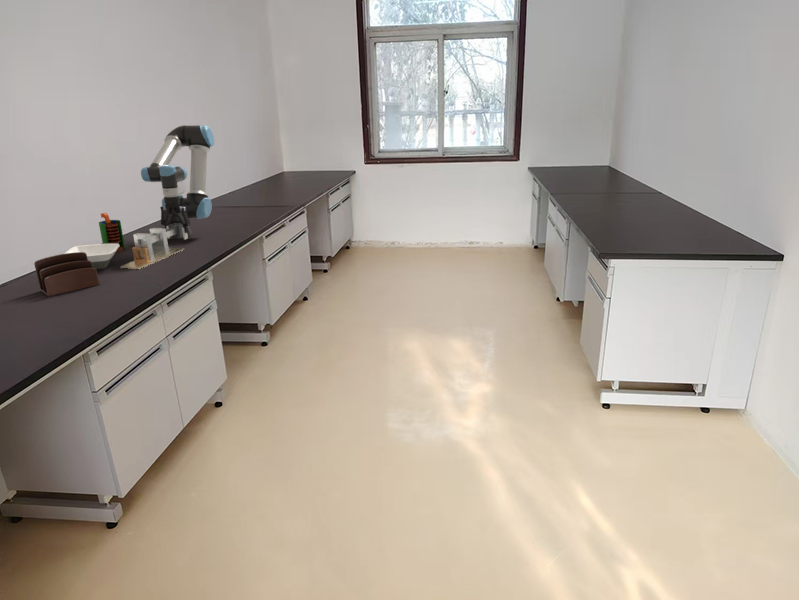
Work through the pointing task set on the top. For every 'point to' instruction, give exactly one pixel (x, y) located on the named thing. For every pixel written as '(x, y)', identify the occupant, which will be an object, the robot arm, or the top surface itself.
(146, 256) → the spacer
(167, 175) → the robot arm
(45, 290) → the letter holder
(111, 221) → the motor
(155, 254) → the frame
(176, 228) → the shaft
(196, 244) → the top surface
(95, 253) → the bowl
